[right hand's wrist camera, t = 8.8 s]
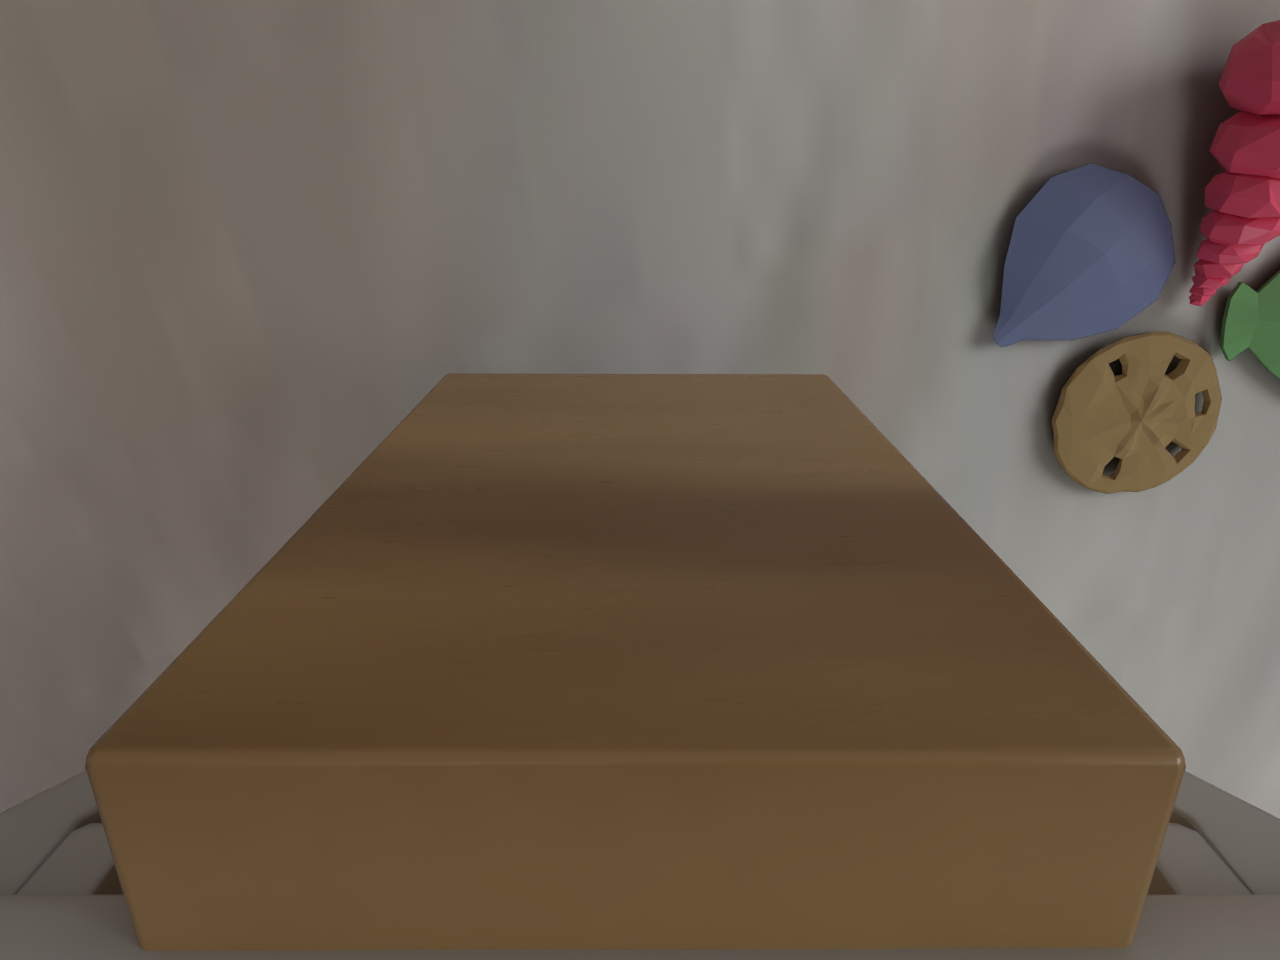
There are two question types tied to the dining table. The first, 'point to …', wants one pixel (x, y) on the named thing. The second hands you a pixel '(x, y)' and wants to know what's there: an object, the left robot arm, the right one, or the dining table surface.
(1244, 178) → the toy pieces
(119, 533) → the dining table surface
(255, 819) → the box
